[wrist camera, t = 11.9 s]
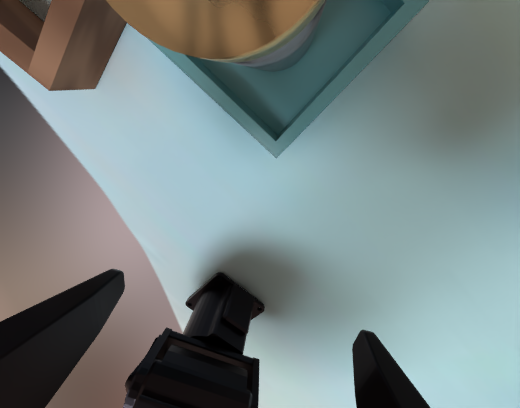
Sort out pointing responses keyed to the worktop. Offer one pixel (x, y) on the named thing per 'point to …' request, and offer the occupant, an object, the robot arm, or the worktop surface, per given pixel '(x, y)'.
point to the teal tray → (301, 70)
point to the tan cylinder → (228, 28)
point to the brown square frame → (61, 41)
